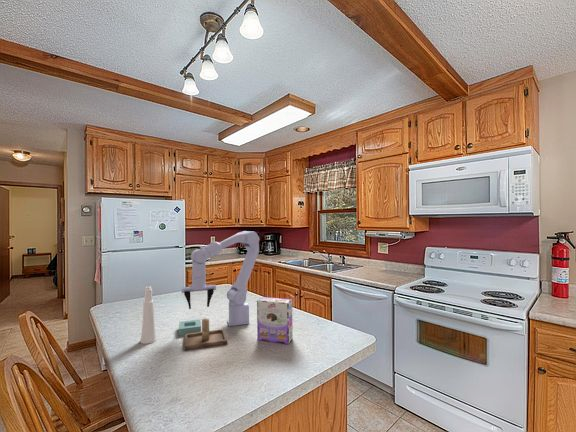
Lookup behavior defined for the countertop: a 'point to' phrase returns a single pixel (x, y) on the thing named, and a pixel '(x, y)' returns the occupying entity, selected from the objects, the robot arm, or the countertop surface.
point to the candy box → (274, 320)
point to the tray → (196, 341)
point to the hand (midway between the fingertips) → (199, 307)
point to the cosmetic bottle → (148, 319)
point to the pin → (205, 329)
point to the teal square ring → (189, 327)
